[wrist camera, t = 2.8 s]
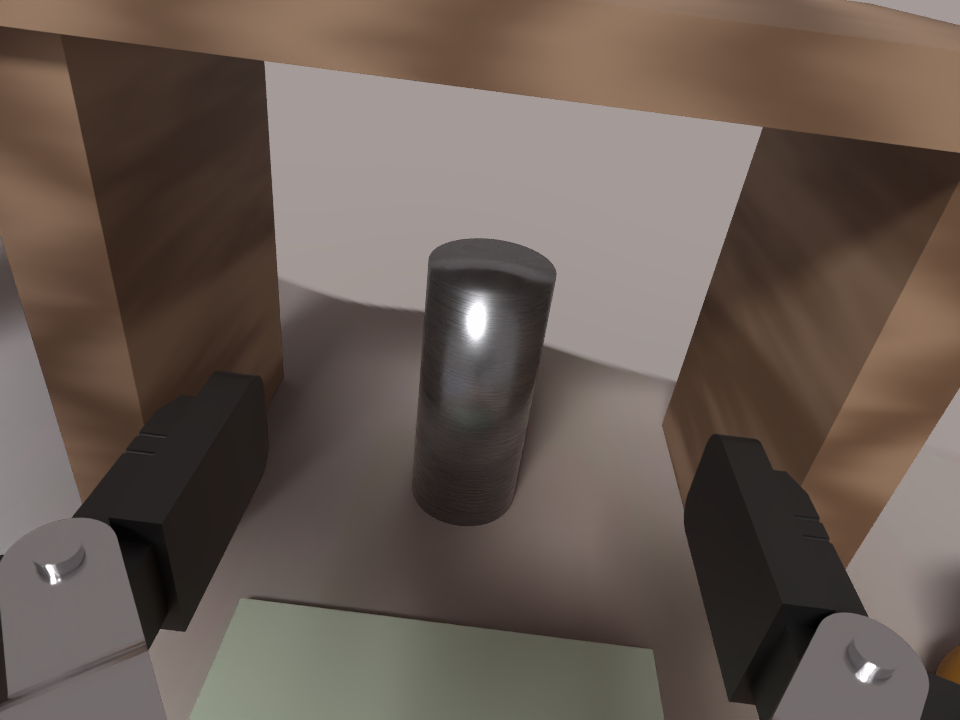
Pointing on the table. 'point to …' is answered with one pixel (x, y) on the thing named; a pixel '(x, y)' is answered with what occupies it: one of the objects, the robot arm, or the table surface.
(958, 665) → the ornamental finial
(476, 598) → the table surface
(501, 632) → the mat
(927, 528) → the table surface
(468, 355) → the canister
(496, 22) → the shelf
